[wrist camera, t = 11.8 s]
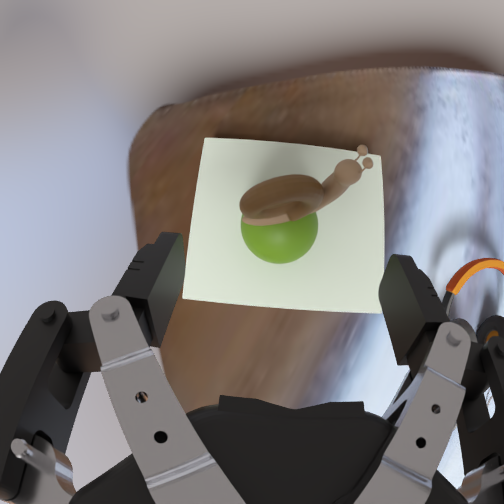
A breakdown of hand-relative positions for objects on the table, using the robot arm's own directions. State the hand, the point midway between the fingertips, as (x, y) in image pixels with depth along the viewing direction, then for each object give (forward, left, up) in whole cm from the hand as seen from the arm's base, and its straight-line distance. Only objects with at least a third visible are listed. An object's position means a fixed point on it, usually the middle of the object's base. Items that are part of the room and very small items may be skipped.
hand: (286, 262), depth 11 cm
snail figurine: (-1, -4, -12) cm, 13 cm away
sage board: (-1, -5, -15) cm, 16 cm away
